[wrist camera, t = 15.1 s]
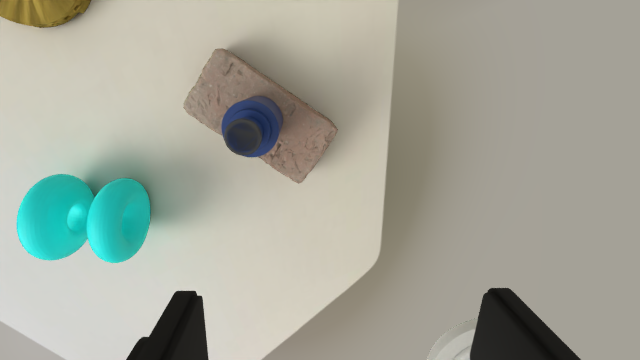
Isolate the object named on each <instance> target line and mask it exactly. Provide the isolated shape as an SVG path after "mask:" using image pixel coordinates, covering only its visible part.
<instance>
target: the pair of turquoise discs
mask: <svg viewBox="0 0 640 360" xmlns="http://www.w3.org/2000/svg"><path fill="white" fill-rule="evenodd" d="M150 214H151V210H150V201H149V197H148V194H147V192H146V190H145V189H144V187H143V186H142V185H141V184H140V183H139V182H137V181H135V180H133V179H130V178H120V179H116V180H113V181H111V182H110V183H108V184H106V185H105V186H104V187H103V188H102V189H101V190H100V191H99V192H98V194H97V195H96V197H95V198H94V195H93V193H92V191H91V190H90V188H89V187H88V185H87V184H86V183H84V182H83V181H82V180H81V179H79V178H77V177H75V176H71V175H66V174H58V175H52V176H49V177H47V178H44V179H42V180H41V181H39V182H38V183H36V184H35V185H34V186H33V187H32V188H31V189H30V190H29V191H28V193H27V194H26V195H25V197H24V199H23V201H22V203H21V205H20V208H19V211H18V215H17V233H18V237H19V240H20V242H21V244H22V246H23V247H24V249H25V250H26V251H27V252H28V253H30V254H31V255H33V256H34V257H36V258H39V259H43V260H58V259H62V258H65V257H67V256H69V255H71V254H73V253H74V252H76V251H77V250H78V249H79V248H80V247H81V246H82V245H83V244H84V243H85V242H86V240H87V239H88V241H89V244H90V246H91V248H92V250H93V251H94V253H95V254H96V255H97V256H98V257H99V258H101V259H102V260H104V261H106V262H110V263H119V262H123V261H126V260H128V259H130V258H131V257H132V256H133V255H135V254H136V253H137V252H138V250H139V249H140V247H141V246H142V244H143V242H144V240H145V238H146V235H147V232H148V229H149V224H150Z"/></svg>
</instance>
